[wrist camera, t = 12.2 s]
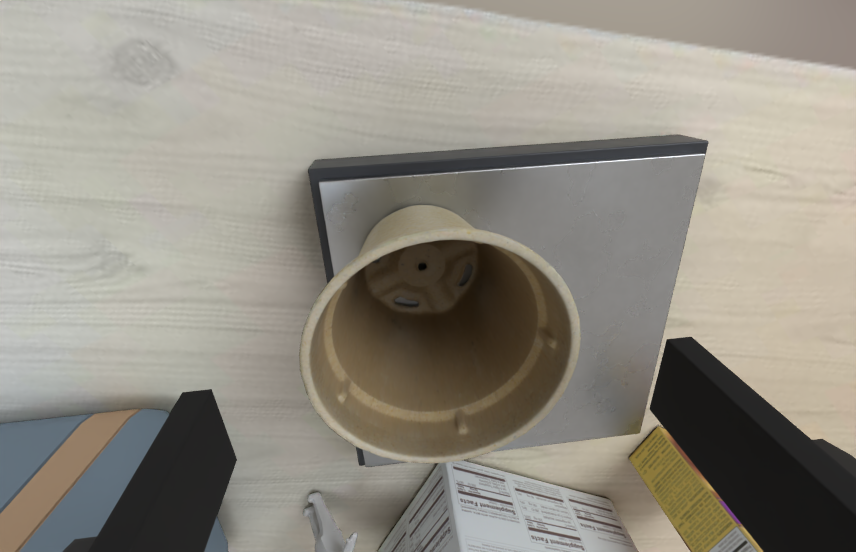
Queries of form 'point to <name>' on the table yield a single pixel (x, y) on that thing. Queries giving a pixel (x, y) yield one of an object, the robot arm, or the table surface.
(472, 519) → the supplement box
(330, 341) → the flower pot
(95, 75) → the table surface
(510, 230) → the scale
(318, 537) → the figurine
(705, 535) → the candy box
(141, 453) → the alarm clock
